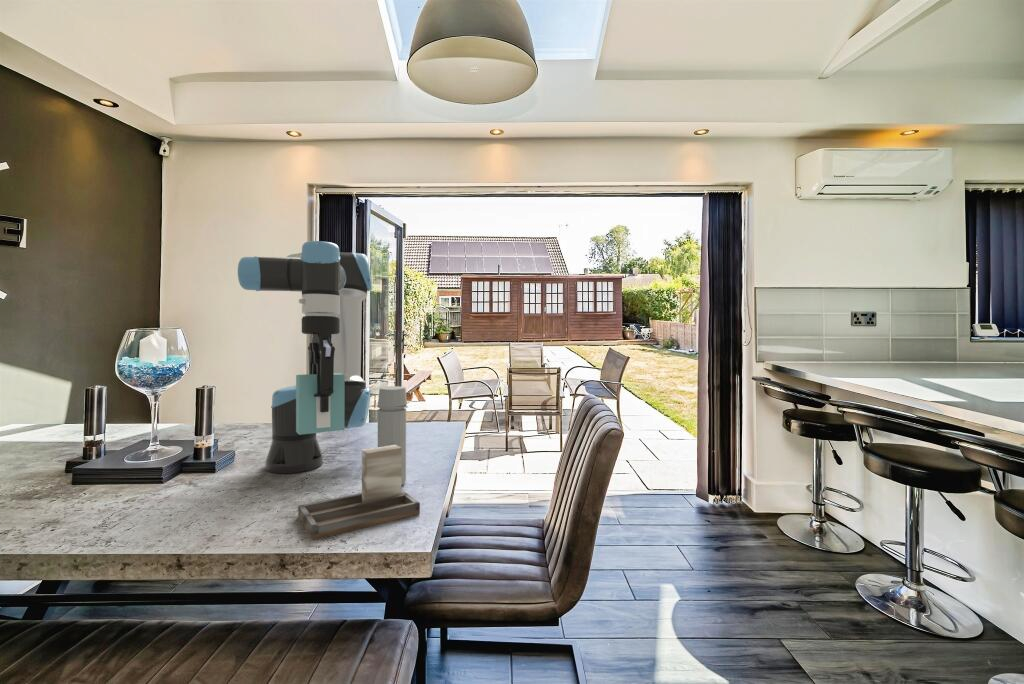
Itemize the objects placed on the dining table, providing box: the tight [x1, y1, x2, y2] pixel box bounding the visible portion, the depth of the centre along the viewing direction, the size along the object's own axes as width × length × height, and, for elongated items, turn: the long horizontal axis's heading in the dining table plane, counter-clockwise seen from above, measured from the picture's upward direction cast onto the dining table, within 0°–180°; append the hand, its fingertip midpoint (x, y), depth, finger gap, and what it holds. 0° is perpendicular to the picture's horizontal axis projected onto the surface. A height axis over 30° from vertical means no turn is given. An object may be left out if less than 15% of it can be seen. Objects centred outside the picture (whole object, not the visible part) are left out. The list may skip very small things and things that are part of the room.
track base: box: [297, 445, 421, 541], centre depth 101 cm, size 13×22×13 cm, turn 126°
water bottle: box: [376, 385, 409, 486], centre depth 122 cm, size 9×8×25 cm
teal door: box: [295, 373, 345, 435], centre depth 100 cm, size 4×9×12 cm, turn 124°
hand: (320, 425), depth 100 cm, fingers closed on teal door, 3 cm apart
